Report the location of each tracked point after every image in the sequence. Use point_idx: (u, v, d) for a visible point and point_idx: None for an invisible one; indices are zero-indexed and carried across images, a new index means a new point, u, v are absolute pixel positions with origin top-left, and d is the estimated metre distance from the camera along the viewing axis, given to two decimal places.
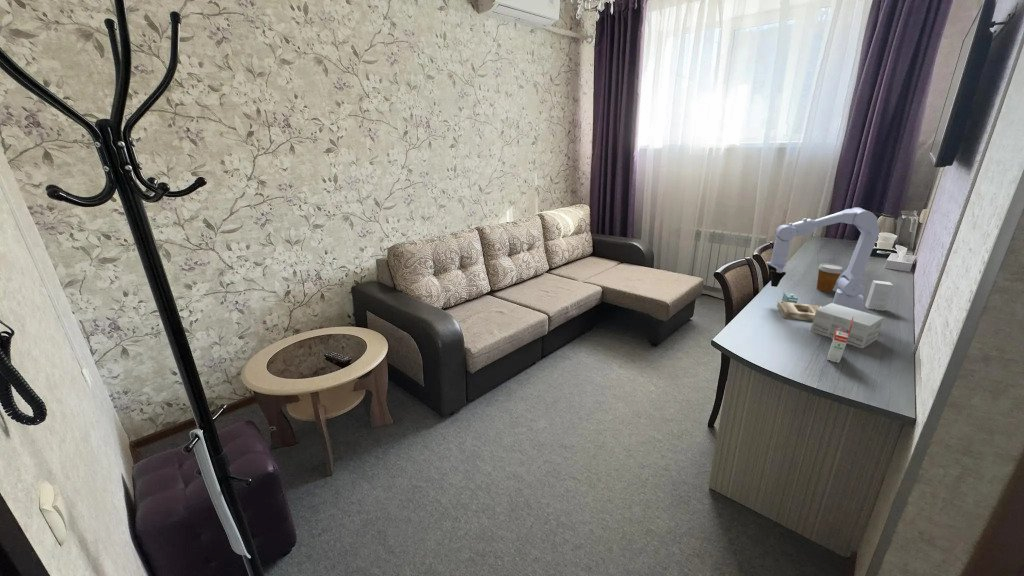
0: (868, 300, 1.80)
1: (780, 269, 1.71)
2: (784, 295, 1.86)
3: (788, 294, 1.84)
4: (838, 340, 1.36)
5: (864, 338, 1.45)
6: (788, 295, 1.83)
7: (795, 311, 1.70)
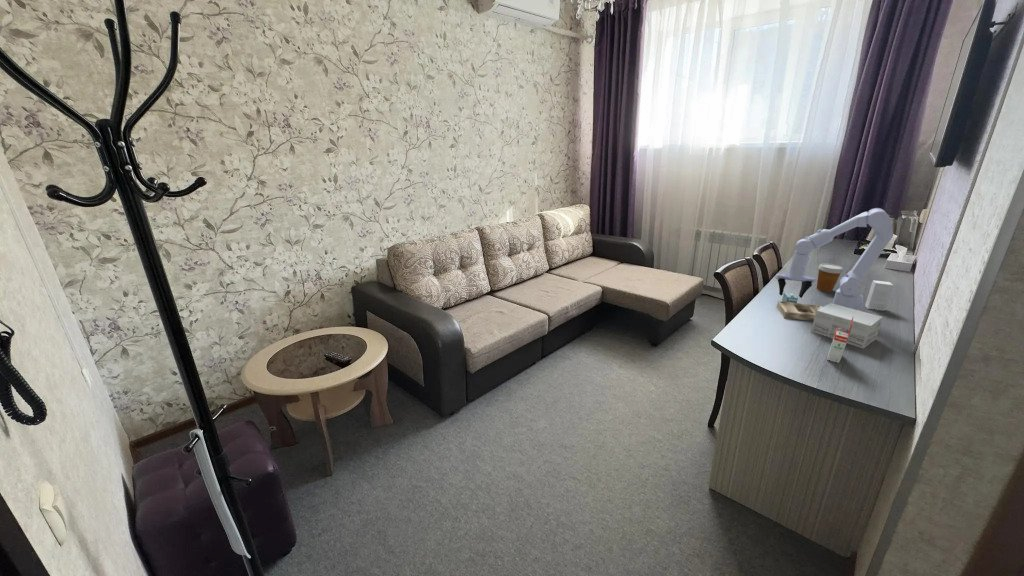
0: (868, 300, 1.80)
1: (776, 275, 1.83)
2: (784, 295, 1.86)
3: (788, 294, 1.84)
4: (838, 340, 1.36)
5: (865, 338, 1.45)
6: (788, 295, 1.83)
7: (795, 311, 1.70)
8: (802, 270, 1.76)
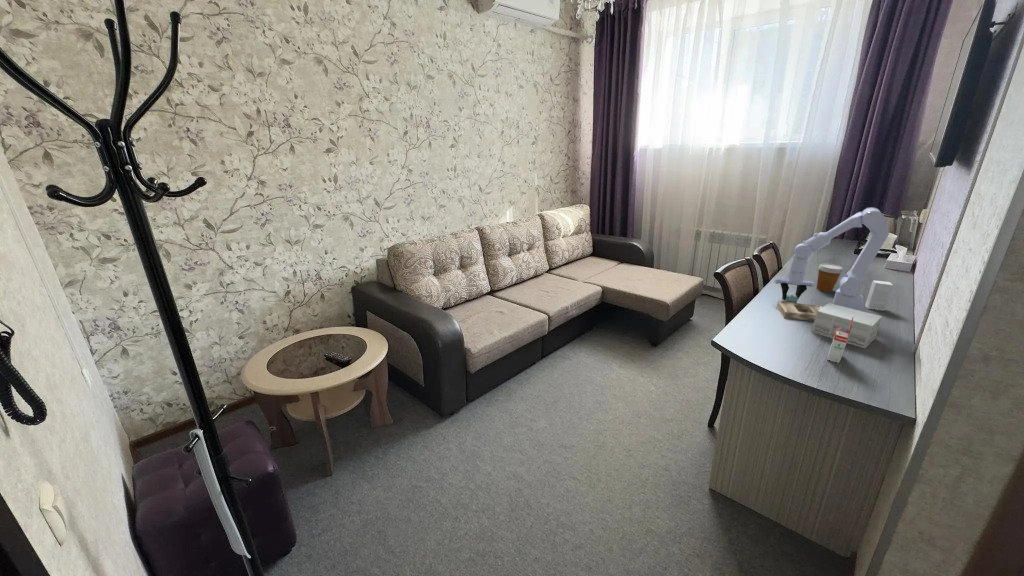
0: (868, 300, 1.80)
1: (775, 279, 1.83)
2: None
3: (788, 294, 1.84)
4: (838, 340, 1.36)
5: (867, 338, 1.45)
6: (788, 295, 1.83)
7: (795, 311, 1.70)
8: (801, 274, 1.77)
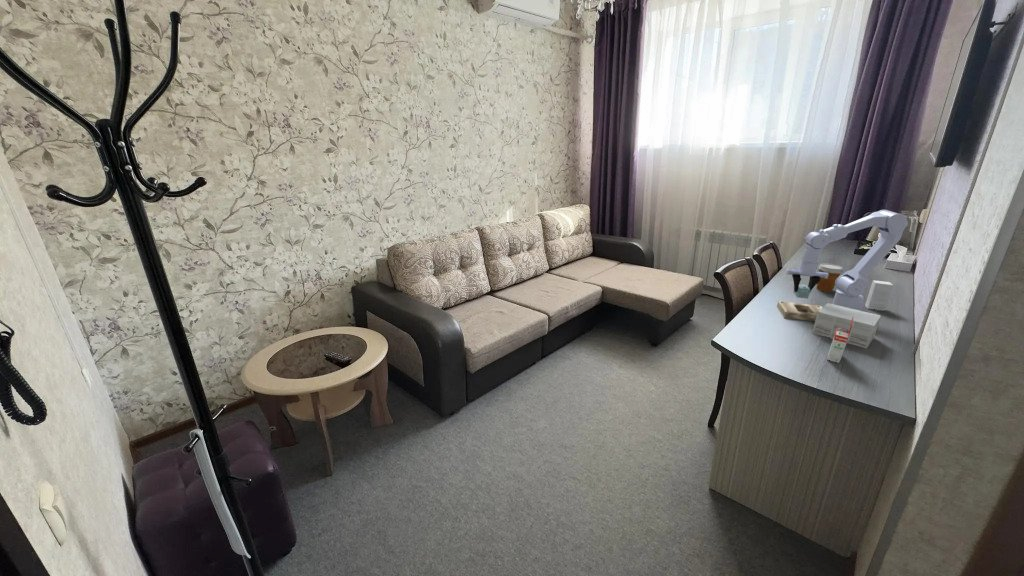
0: (868, 300, 1.80)
1: (787, 270, 1.74)
2: None
3: (800, 285, 1.75)
4: (838, 340, 1.36)
5: (869, 338, 1.45)
6: (800, 286, 1.74)
7: (795, 311, 1.70)
8: (814, 264, 1.68)
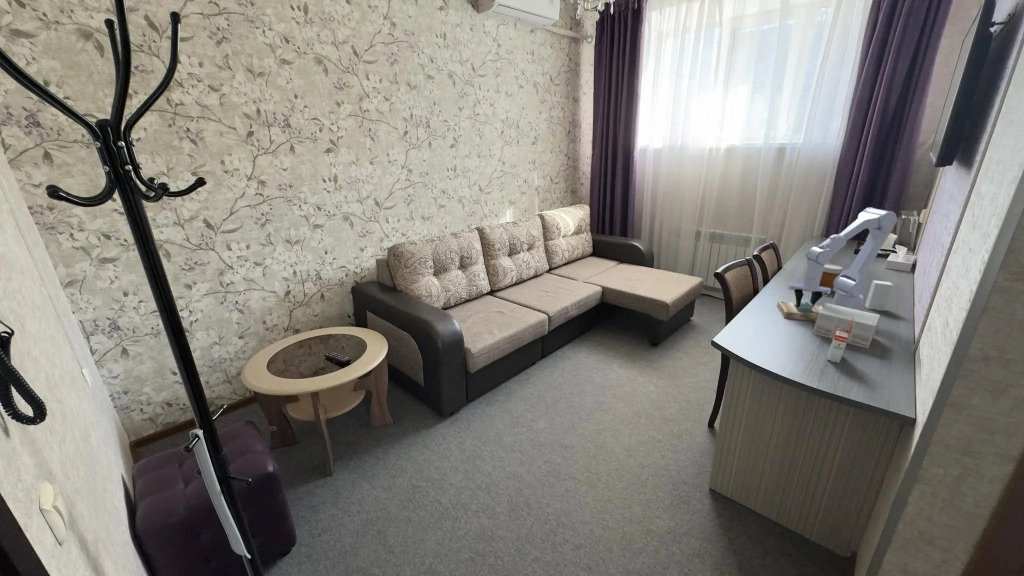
0: (868, 300, 1.80)
1: (789, 285, 1.71)
2: None
3: (802, 301, 1.73)
4: (838, 340, 1.36)
5: (870, 338, 1.45)
6: (802, 302, 1.72)
7: (795, 311, 1.70)
8: (817, 280, 1.65)
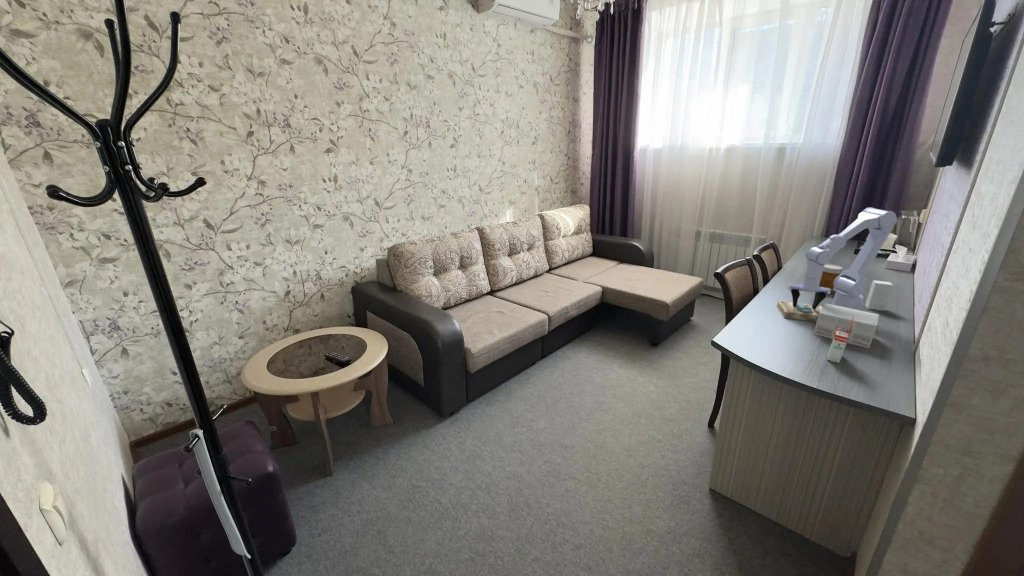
0: (868, 300, 1.80)
1: (789, 286, 1.71)
2: (797, 305, 1.74)
3: (801, 304, 1.73)
4: (838, 340, 1.36)
5: (871, 338, 1.45)
6: (801, 305, 1.72)
7: (795, 311, 1.70)
8: (817, 280, 1.65)
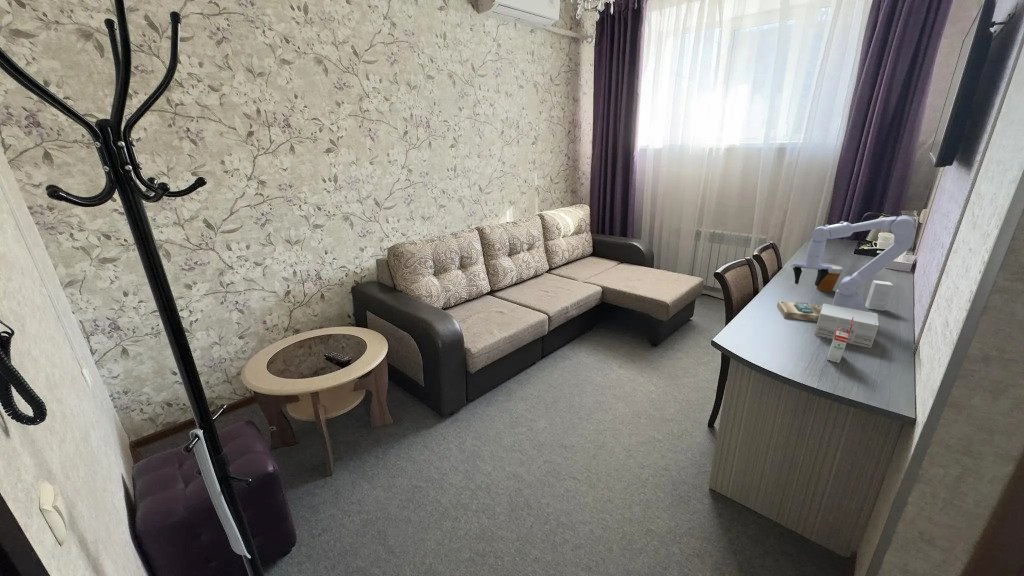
0: (868, 300, 1.80)
1: (792, 264, 1.80)
2: (797, 305, 1.74)
3: (801, 304, 1.73)
4: (838, 340, 1.36)
5: (873, 338, 1.46)
6: (801, 305, 1.72)
7: (795, 311, 1.70)
8: (819, 258, 1.74)
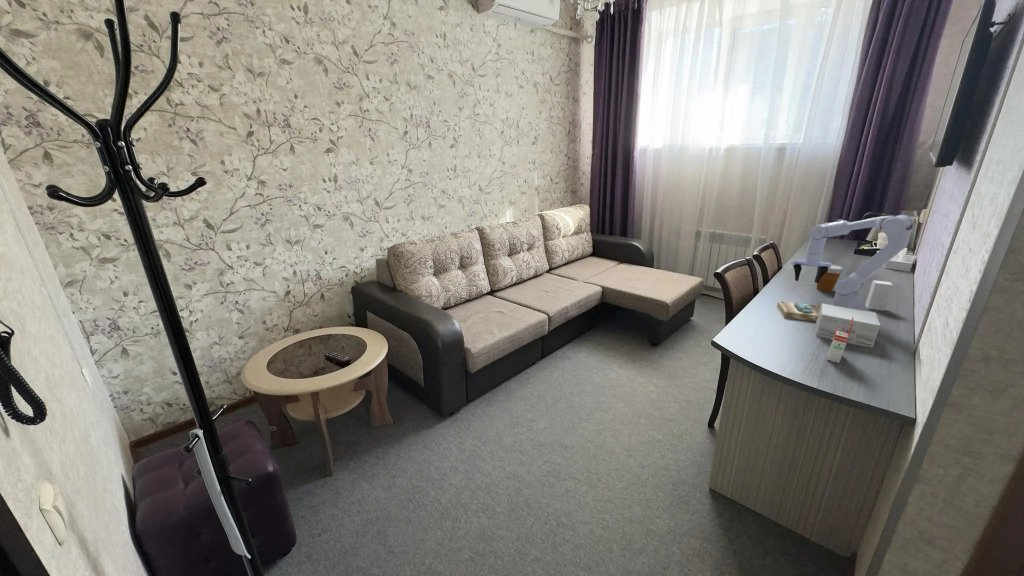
0: (868, 300, 1.80)
1: (792, 261, 1.83)
2: (797, 305, 1.74)
3: (801, 304, 1.73)
4: (838, 340, 1.36)
5: (874, 338, 1.46)
6: (801, 305, 1.72)
7: (795, 311, 1.70)
8: (818, 255, 1.77)
